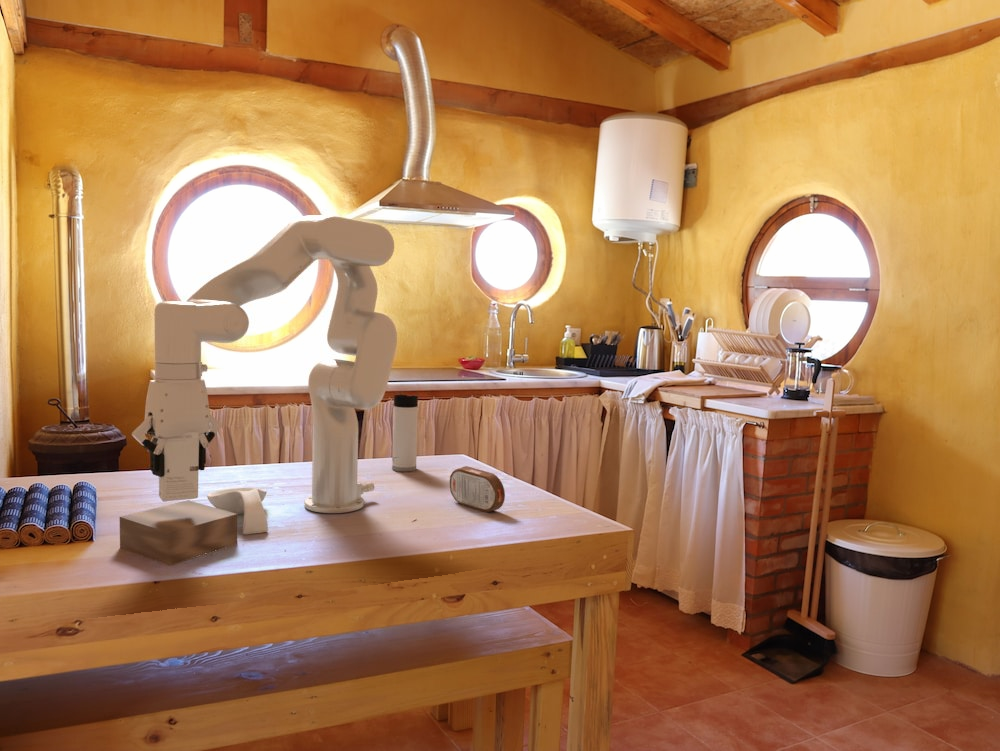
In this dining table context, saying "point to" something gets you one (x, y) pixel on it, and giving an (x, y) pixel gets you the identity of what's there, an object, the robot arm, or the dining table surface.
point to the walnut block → (178, 531)
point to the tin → (477, 489)
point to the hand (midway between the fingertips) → (178, 471)
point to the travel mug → (404, 433)
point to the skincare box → (180, 468)
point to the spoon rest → (243, 506)
